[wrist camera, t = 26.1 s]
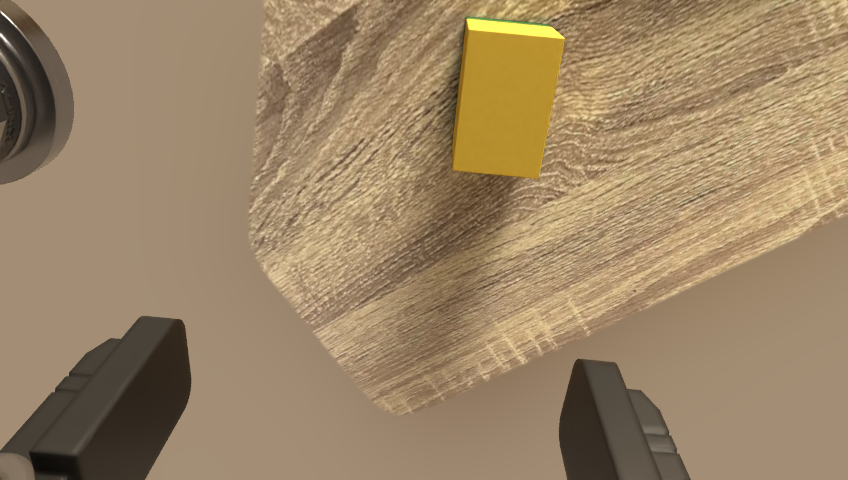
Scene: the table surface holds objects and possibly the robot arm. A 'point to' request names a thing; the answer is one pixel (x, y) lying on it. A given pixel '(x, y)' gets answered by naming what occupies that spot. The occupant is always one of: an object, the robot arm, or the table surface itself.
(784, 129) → the table surface
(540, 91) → the sponge
